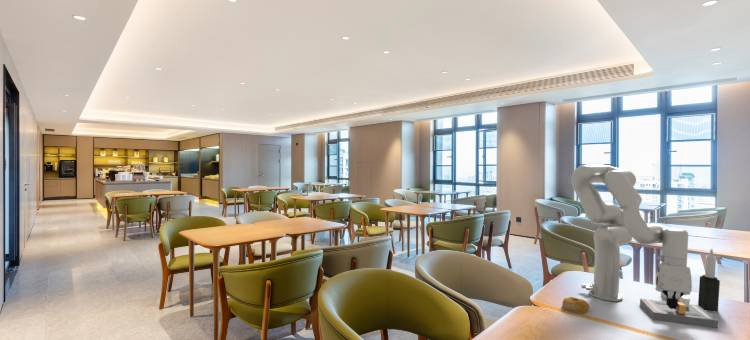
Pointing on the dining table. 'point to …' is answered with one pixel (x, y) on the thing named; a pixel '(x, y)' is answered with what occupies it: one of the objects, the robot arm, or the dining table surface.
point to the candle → (709, 286)
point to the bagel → (576, 305)
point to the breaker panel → (691, 316)
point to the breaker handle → (681, 308)
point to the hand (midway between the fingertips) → (671, 307)
